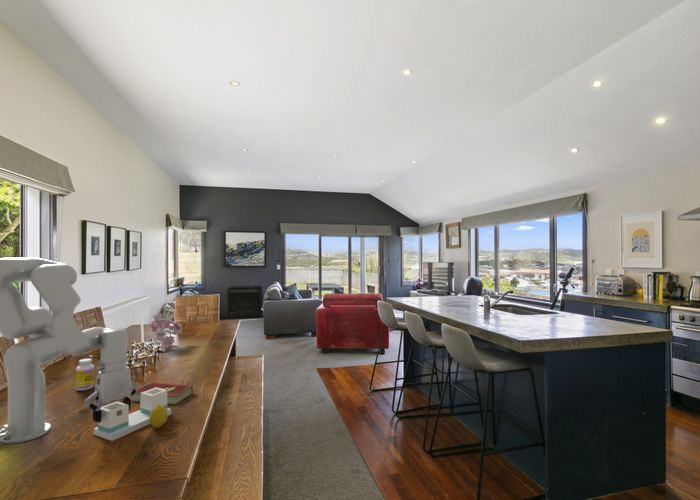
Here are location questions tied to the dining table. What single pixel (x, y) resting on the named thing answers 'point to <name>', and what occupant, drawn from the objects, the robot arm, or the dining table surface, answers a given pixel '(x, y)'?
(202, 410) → the dining table surface
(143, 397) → the seated sleeve
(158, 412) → the lemon
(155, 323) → the flower
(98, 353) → the condiment
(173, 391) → the hardcover book
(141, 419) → the pin board
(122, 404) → the sleeve
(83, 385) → the supplement bottle
